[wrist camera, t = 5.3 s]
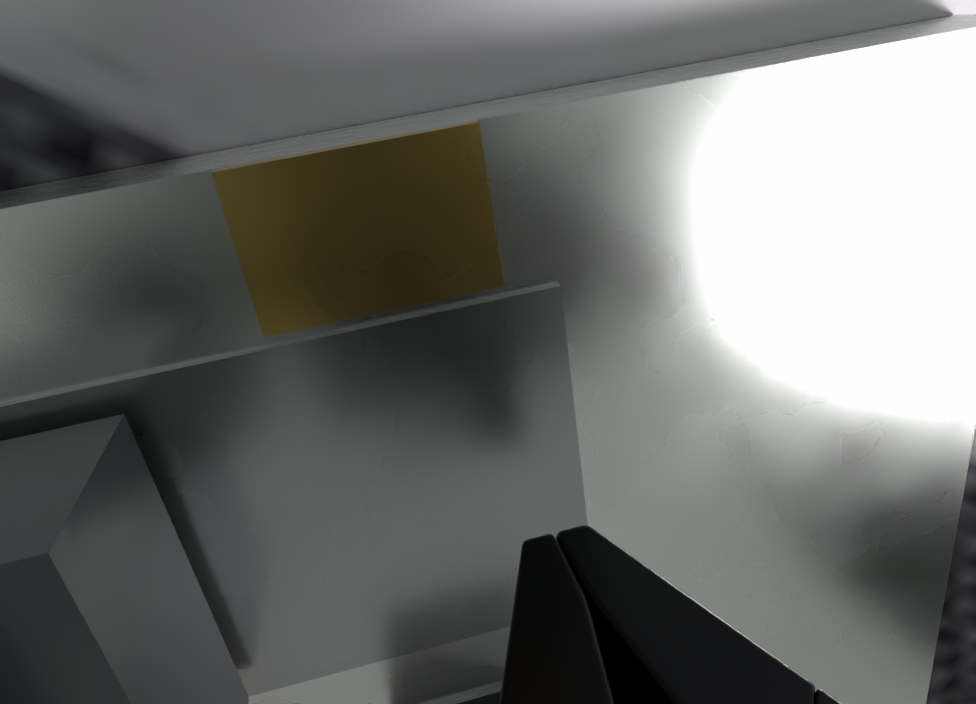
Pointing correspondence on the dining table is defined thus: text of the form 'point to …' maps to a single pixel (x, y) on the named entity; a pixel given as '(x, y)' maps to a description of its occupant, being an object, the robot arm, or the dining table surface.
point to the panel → (541, 361)
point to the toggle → (99, 580)
